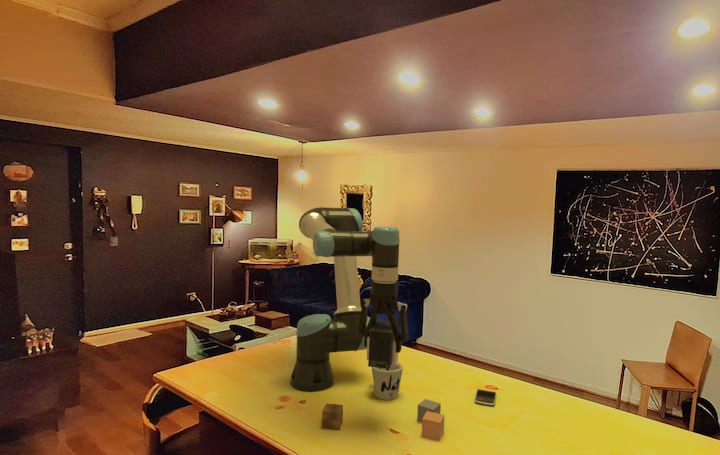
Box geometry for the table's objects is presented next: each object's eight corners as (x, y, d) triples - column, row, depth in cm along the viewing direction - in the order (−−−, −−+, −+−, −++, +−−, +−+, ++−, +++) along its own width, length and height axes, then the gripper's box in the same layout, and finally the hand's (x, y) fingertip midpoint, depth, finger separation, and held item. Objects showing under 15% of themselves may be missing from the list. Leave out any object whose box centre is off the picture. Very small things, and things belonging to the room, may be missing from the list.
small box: (391, 369, 117) (391, 331, 116) (367, 367, 118) (368, 329, 118) (396, 356, 127) (396, 321, 127) (374, 354, 128) (375, 320, 128)
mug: (380, 404, 135) (381, 373, 135) (358, 386, 148) (359, 358, 148) (408, 398, 140) (409, 368, 140) (384, 381, 153) (385, 354, 153)
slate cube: (417, 421, 125) (417, 404, 125) (424, 415, 129) (425, 398, 129) (433, 426, 122) (433, 409, 122) (440, 420, 126) (440, 403, 126)
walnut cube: (321, 428, 119) (322, 411, 119) (325, 420, 124) (326, 403, 124) (339, 430, 119) (339, 413, 119) (342, 421, 124) (343, 404, 123)
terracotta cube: (421, 436, 117) (422, 418, 116) (426, 428, 121) (426, 411, 121) (439, 441, 115) (440, 422, 114) (443, 432, 119) (444, 414, 119)
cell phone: (474, 405, 137) (474, 401, 137) (477, 391, 148) (477, 387, 147) (494, 409, 135) (494, 404, 135) (496, 395, 145) (496, 391, 145)
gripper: (347, 279, 122) (345, 358, 123) (414, 287, 114) (411, 371, 115) (358, 276, 129) (355, 351, 130) (422, 282, 121) (419, 362, 122)
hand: (382, 360), depth 123 cm, fingers closed on small box, 7 cm apart
